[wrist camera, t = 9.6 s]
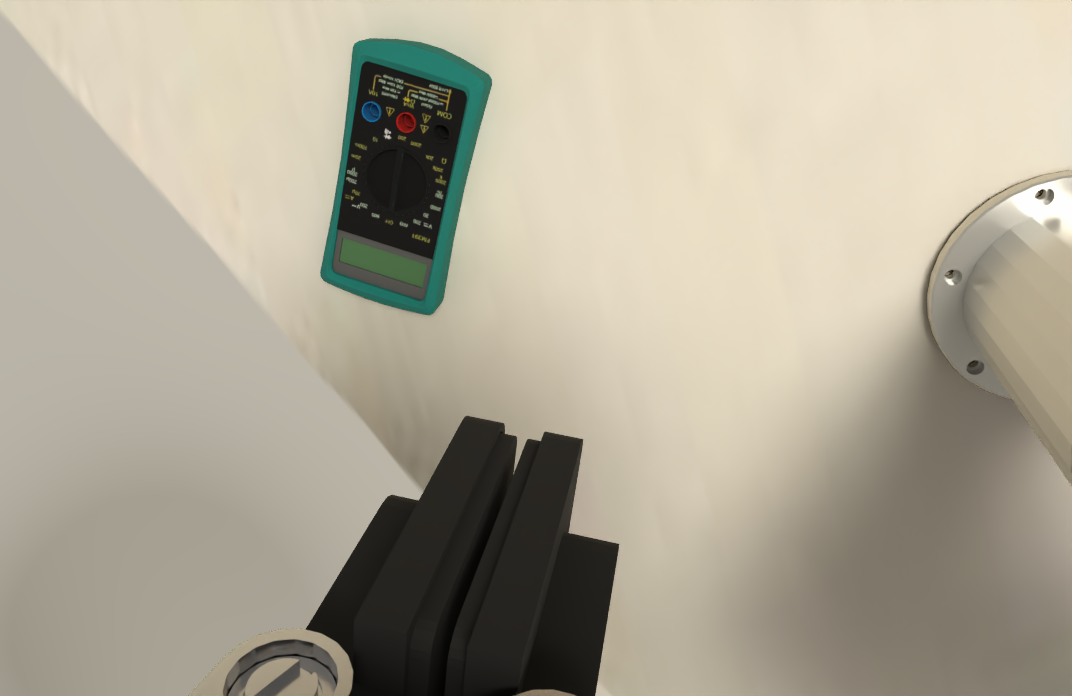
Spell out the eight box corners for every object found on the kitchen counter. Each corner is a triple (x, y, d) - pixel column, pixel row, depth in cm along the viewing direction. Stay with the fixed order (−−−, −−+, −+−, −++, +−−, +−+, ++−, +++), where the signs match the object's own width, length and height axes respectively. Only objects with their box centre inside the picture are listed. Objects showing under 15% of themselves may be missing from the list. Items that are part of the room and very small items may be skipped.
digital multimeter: (498, 64, 44) (485, 70, 41) (443, 305, 50) (429, 324, 48) (371, 25, 44) (350, 29, 41) (334, 269, 51) (313, 286, 48)
